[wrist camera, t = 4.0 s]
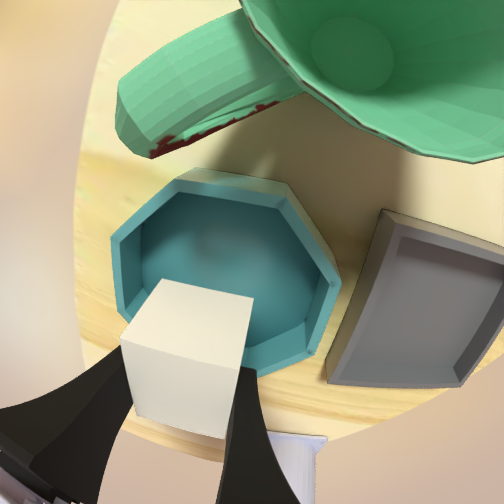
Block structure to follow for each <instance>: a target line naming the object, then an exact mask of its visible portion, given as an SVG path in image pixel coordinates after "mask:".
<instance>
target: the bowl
mask: <svg viewBox="0 0 504 504" xmlns="http://www.w3.org/2000/svg"><path fill="white" fill-rule="evenodd" d="M111 254H112V267H113V278H114V287H115V296H116V304H117V311H118V312H119V313H120V314H121V316H122V317H123V318H124V319H125V320H126V321H127V322H128V323H129V324H130V322H131V321H132V319H133V318H134V316H135V315H136V314H137V312H138V311H139V309H140V308H141V307H142V305H143V304H144V302H145V301H146V300H147V298H148V297H149V296H150V294H151V293H152V291H153V290H154V289H155V287H156V286H157V285H158V283H159V282H160V281H161V279H162V278H163V279H167V280H171V281H175V282H180V283H184V284H189V285H193V286H198V287H202V288H207V289H211V290H216V291H221V292H226V293H230V294H235V295H240V296H245V297H250V298H254V300H253V305H252V310H251V315H250V320H249V325H248V330H247V335H246V340H245V345H244V350H243V355H242V360H241V365H240V366H243V367H248V368H253V369H255V370H256V371H257V378H258V377H261V376H264V375H266V374H269V373H272V372H274V371H277V370H279V369H282V368H284V367H287V366H289V365H292V364H294V363H297V362H299V361H301V360H304V359H306V358H308V357H311V356H313V355H315V352H316V350H317V347H318V345H319V343H320V340H321V338H322V335H323V333H324V330H325V328H326V325H327V323H328V320H329V317H330V315H331V312H332V310H333V307H334V304H335V302H336V299H337V296H338V293H339V291H340V288H341V285H342V280H341V277H340V274H339V270H338V267H337V264H336V260H335V257H334V254H333V253H332V251H331V250H330V248H329V246H328V245H327V243H326V242H325V240H324V239H323V237H322V235H321V234H320V232H319V231H318V229H317V228H316V226H315V225H314V223H313V222H312V220H311V218H310V217H309V215H308V214H307V212H306V211H305V209H304V208H303V206H302V205H301V203H300V202H299V200H298V199H297V198H296V196H295V195H294V193H293V192H292V190H291V189H290V187H289V186H288V184H287V183H284V182H279V181H274V180H269V179H263V178H258V177H252V176H246V175H240V174H234V173H228V172H222V171H215V170H209V169H202V168H194V169H192V170H190V171H188V172H186V173H184V174H182V175H180V176H178V177H177V178H175V179H173V180H172V181H171V182H170V183H169V184H167V185H166V186H165V187H164V188H163V189H162V190H160V191H159V192H158V193H157V194H156V195H155V196H154V197H152V198H151V199H150V200H149V201H148V202H147V203H146V204H145V205H144V206H142V207H141V208H140V209H139V210H138V211H137V212H136V213H135V214H134V215H133V216H132V217H130V218H129V219H128V220H127V221H126V222H125V223H124V224H123V225H122V226H121V227H120V228H119V229H118V230H117V231H116V232H115V233H114V234H113V235H112V236H111Z"/></svg>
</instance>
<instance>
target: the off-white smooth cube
mask: <svg viewBox="0 0 504 504" xmlns="http://www.w3.org/2000/svg"><path fill="white" fill-rule="evenodd" d="M253 300H254V298H250V297H245V296H240V295H235V294H230V293H226V292H221V291H216V290H211V289H207V288H202V287H198V286H193V285H189V284H184V283H180V282H175V281H171V280H167V279H163V278H162V279H161V281H160V282H159V283H158V285H157V286H156V287H155V289H154V290H153V291H152V293H151V294H150V296H149V297H148V298H147V300H146V301H145V302H144V304H143V305H142V307H141V308H140V309H139V311H138V312H137V314H136V315H135V316H134V318H133V319H132V321H131V322H130V324H129V325H128V326H127V328H126V329H125V331H124V332H123V334H122V335H121V337H120V344H121V349H122V354H123V359H124V364H125V369H126V374H127V378H128V382H129V387H130V391H131V395H132V399H133V403H134V406H135V410H136V414H137V416H140V417H143V418H146V419H149V420H152V421H155V422H158V423H161V424H165V425H168V426H171V427H175V428H178V429H182V430H186V431H190V432H193V433H197V434H202V435H206V436H210V437H215V438H219V439H224V440H225V435H226V431H227V426H228V421H229V417H230V412H231V408H232V403H233V398H234V394H235V389H236V384H237V379H238V375H239V370H240V365H241V360H242V355H243V350H244V345H245V340H246V335H247V330H248V325H249V320H250V315H251V310H252V305H253Z"/></svg>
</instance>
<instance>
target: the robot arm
mask: <svg viewBox="0 0 504 504" xmlns="http://www.w3.org/2000/svg"><path fill="white" fill-rule="evenodd" d="M132 405H133V399H132V395H131V391H130V387H129V382H128V378H127V374H126V369H125V364H124V359H123V354H122V349H121V344H120V345H119V346H118V347H117V348H116V349H114V350H113V351H112V352H111V353H109V354H108V355H107V356H106V357H104V358H103V359H102V360H100V361H99V362H98V363H96V364H95V365H94V366H92V367H91V368H90V369H88V370H87V371H85V372H84V373H82V374H81V375H79V376H78V377H76V378H75V379H74V380H72V381H70V382H68V383H67V384H65V385H63V386H61V387H59V388H58V389H56V390H54V391H52V392H50V393H47V394H45V395H43V396H41V397H38V398H36V399H33V400H30V401H27V402H24V403H22V404H18V405H15V406H11V407H6V408H2V409H0V450H1V451H0V504H43V502H44V503H45V504H71V502H74V503H76V504H80V502H81V503H83V504H97V500H98V496H99V491H100V486H101V482H102V478H103V475H104V471H105V468H106V465H107V461H108V458H109V455H110V452H111V449H112V446H113V444H114V441H115V438H116V436H117V434H118V432H119V429H120V428H121V426H122V424H123V422H124V420H125V418H126V416H127V414H128V412H129V411H130V409H131V407H132ZM327 441H328V438H327V437H325V436H311V435H299V434H289V433H281V432H273V431H267V430H266V427H265V423H264V419H263V415H262V411H261V406H260V401H259V394H258V387H257V371H256V370H255V369H253V368H248V367H243V366H240V370H239V375H238V379H237V384H236V389H235V394H234V398H233V403H232V408H231V412H230V417H229V421H228V429H227V439H226V448H225V458H224V465H223V471H222V476H221V480H220V485H219V490H218V494H217V499H216V504H315V455H316V454H317V453H318V452H319V450H320V449H321V448H322V447H323V446H324V445H325V443H326V442H327Z"/></svg>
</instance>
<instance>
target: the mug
mask: <svg viewBox="0 0 504 504" xmlns="http://www.w3.org/2000/svg"><path fill="white" fill-rule="evenodd" d="M239 2H240V4H241V6H242V8H241V9H238V10H236V11H234V12H231V13H229V14H226V15H224V16H222V17H220V18H217V19H215V20H213V21H211V22H209V23H207V24H205V25H202V26H200V27H198V28H196V29H194V30H192V31H191V32H189V33H187V34H185V35H183V36H181V37H179V38H177V39H176V40H174V41H172V42H170V43H169V44H167V45H165V46H163V47H162V48H161V49H159V50H158V51H156V52H155V53H154V54H152V55H151V56H149V57H148V58H147V59H145V60H144V61H143V62H141V63H140V64H139V65H138V66H136V67H135V68H134V69H133V70H131V71H130V72H129V73H128V74H126V75H125V76H124V77H123V78H121V79H120V80H119V83H118V91H117V105H116V114H115V129H116V132H117V134H118V137H119V139H120V140H121V141H122V142H123V143H124V144H125V145H126V146H127V147H128V148H129V149H130V150H131V151H132V152H133V153H134V154H137V155H140V156H142V157H146V158H149V159H154V158H156V157H159V156H161V155H164V154H166V153H169V152H171V151H174V150H176V149H179V148H181V147H185V146H188V145H190V144H192V143H194V142H196V141H198V140H200V139H202V138H204V137H206V136H208V135H210V134H212V133H214V132H216V131H219V130H221V129H223V128H225V127H227V126H229V125H231V124H234V123H236V122H238V121H240V120H243V119H245V118H247V117H249V116H252V115H254V114H256V113H259V112H261V111H263V110H265V109H267V108H269V107H271V106H273V105H276V104H278V103H280V102H282V101H285V100H287V99H289V98H291V97H294V96H296V95H298V94H301V93H303V92H307V93H309V94H310V95H312V96H313V97H314V98H316V99H317V100H319V101H320V102H321V103H323V104H324V105H326V106H327V107H328V108H330V109H331V110H332V111H334V112H335V113H336V114H338V115H339V116H340V117H341V118H343V119H344V120H345V121H347V122H348V123H349V124H350V125H352V126H354V127H356V128H358V129H361V130H363V131H366V132H368V133H370V134H373V135H375V136H377V137H379V138H382V139H384V140H386V141H388V142H390V143H392V144H395V145H397V146H399V147H401V148H403V149H405V150H407V151H409V152H411V153H414V154H417V155H421V156H427V157H433V158H440V159H446V160H452V161H458V162H463V163H468V164H477V163H481V162H485V161H489V160H494V159H498V158H502V157H504V0H239Z"/></svg>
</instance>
